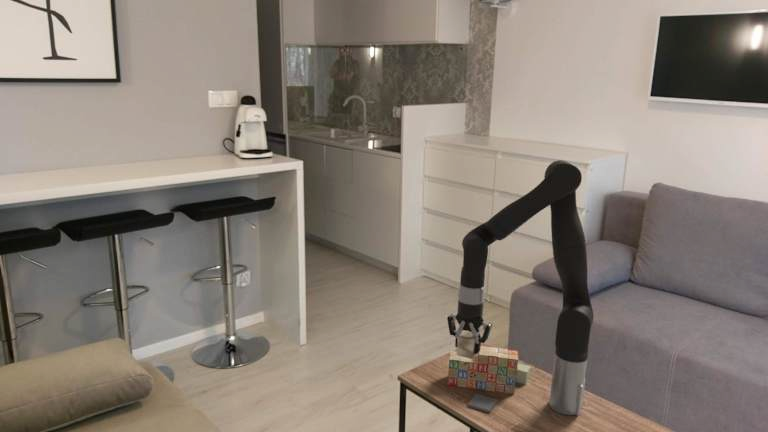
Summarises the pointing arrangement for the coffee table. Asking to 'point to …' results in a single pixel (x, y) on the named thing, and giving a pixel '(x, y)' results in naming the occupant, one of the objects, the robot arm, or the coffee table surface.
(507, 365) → the stack of blocks
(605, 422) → the coffee table surface
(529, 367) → the sage green block
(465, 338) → the cream block
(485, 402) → the charcoal pad
